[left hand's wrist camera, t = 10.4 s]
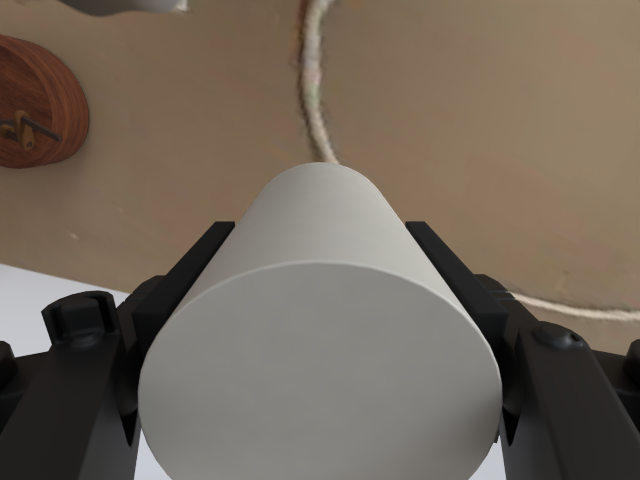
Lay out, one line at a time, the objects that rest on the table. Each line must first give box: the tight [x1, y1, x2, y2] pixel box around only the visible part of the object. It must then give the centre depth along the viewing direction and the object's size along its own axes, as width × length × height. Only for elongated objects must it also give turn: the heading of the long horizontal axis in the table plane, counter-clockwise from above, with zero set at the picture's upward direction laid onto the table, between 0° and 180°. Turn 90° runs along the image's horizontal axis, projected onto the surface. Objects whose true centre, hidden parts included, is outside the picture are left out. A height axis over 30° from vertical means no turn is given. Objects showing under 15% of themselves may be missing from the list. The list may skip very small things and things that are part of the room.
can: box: [138, 162, 503, 480], centre depth 11 cm, size 7×7×10 cm
